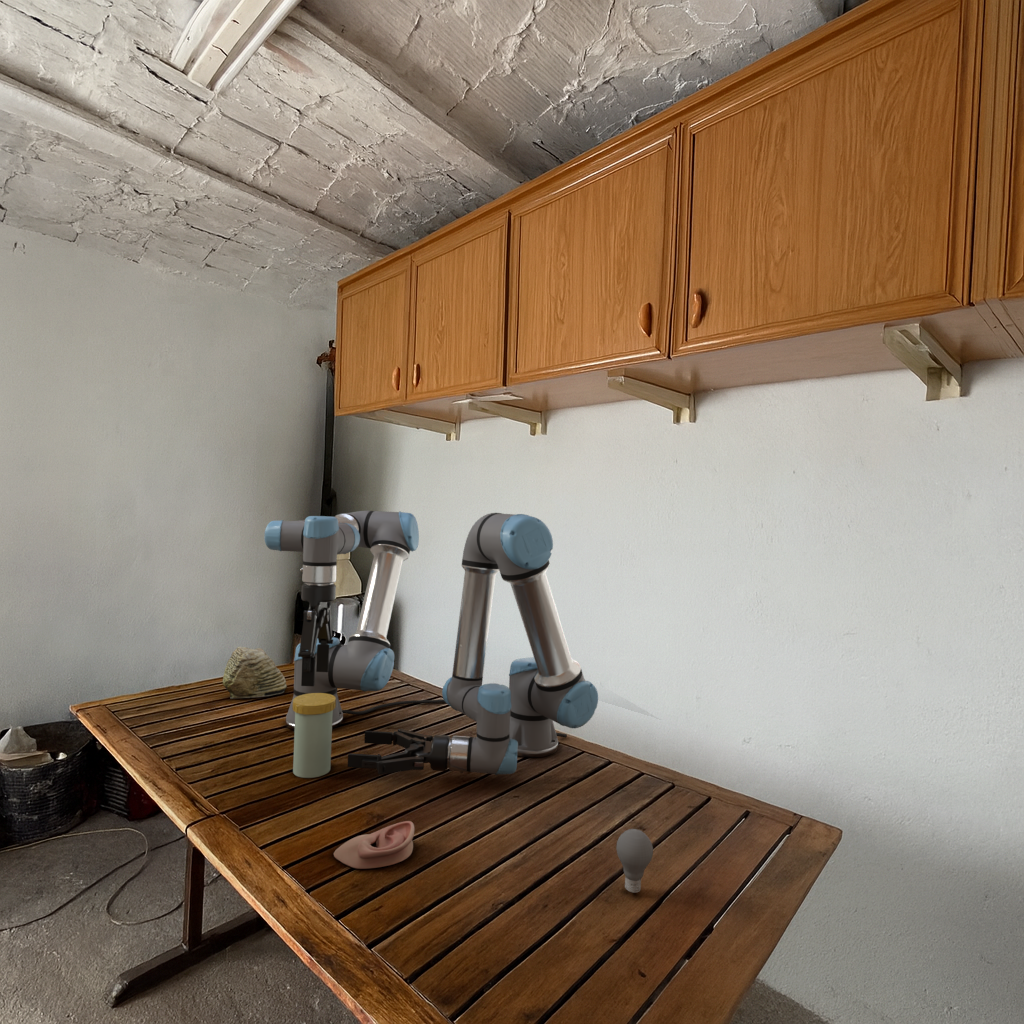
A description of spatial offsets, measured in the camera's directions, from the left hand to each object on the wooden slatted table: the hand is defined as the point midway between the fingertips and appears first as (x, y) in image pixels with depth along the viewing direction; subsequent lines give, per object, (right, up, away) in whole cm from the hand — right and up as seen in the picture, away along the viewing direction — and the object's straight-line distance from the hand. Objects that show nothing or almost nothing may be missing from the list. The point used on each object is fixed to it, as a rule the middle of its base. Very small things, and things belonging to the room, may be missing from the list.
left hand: (315, 678), depth 146 cm
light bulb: (+65, -25, -40) cm, 81 cm away
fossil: (-35, -19, +52) cm, 66 cm away
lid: (0, -5, 0) cm, 5 cm away
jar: (-1, -21, 0) cm, 21 cm away
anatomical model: (+21, -23, -32) cm, 45 cm away
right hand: (+10, -15, -2) cm, 18 cm away
